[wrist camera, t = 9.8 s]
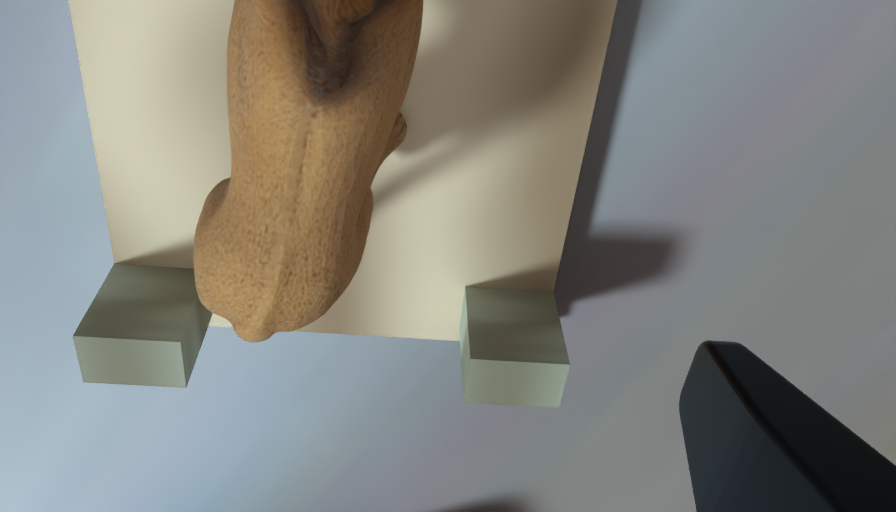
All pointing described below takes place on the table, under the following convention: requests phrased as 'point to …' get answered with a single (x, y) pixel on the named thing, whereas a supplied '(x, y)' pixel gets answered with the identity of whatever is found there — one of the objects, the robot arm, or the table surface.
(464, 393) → the cradle jig
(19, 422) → the table surface
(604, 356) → the table surface
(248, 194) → the lion figurine
